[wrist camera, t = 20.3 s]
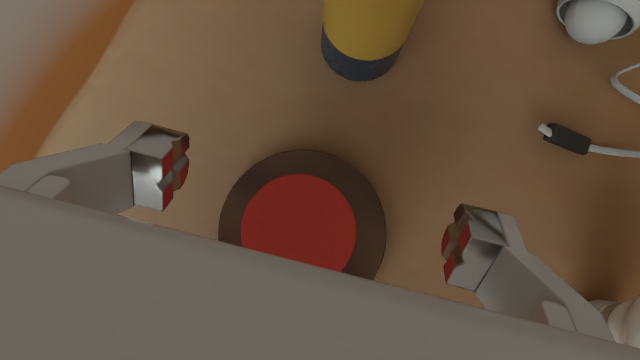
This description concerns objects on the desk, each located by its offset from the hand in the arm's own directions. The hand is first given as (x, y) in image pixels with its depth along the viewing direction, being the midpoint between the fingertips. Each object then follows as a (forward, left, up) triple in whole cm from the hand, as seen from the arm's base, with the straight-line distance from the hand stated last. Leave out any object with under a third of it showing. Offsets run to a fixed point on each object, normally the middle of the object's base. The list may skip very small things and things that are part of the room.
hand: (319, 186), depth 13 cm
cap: (-1, 0, -13) cm, 13 cm away
